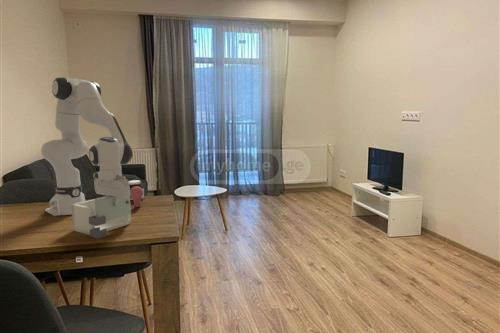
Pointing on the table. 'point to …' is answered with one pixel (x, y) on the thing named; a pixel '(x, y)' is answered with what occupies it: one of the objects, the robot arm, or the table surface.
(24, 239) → the table surface
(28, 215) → the table surface
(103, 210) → the door
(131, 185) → the spread jar
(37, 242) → the table surface
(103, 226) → the cabinet
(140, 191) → the light bulb
